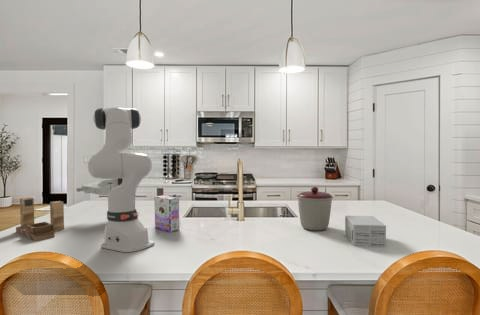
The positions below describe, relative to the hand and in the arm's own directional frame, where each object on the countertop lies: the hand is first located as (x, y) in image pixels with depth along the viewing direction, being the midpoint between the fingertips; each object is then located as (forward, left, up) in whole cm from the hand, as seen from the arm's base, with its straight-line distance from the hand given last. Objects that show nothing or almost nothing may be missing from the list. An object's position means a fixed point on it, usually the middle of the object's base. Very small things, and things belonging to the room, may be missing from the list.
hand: (80, 190), depth 167 cm
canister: (-103, -68, -18) cm, 125 cm away
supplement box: (-129, -62, -19) cm, 144 cm away
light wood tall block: (0, +12, -18) cm, 22 cm away
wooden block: (-26, -36, -18) cm, 48 cm away
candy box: (-44, -22, -18) cm, 53 cm away
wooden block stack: (-1, +23, -18) cm, 29 cm away
